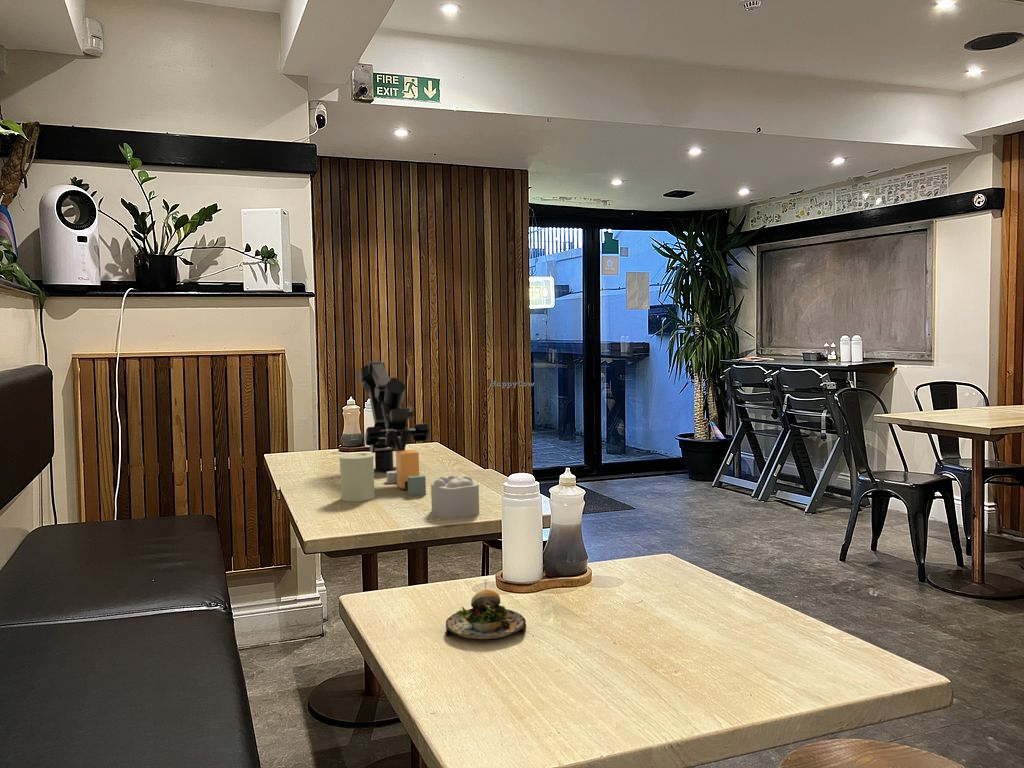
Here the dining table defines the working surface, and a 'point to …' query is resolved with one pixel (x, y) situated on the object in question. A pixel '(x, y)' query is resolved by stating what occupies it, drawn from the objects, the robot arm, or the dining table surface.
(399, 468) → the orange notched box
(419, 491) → the toy mallet
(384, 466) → the robot arm
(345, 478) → the can
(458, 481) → the lumpy-topped squat cylinder
